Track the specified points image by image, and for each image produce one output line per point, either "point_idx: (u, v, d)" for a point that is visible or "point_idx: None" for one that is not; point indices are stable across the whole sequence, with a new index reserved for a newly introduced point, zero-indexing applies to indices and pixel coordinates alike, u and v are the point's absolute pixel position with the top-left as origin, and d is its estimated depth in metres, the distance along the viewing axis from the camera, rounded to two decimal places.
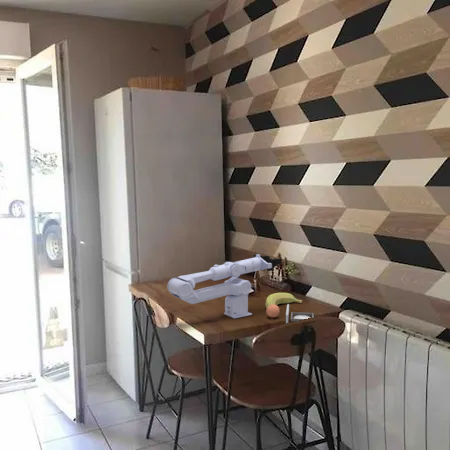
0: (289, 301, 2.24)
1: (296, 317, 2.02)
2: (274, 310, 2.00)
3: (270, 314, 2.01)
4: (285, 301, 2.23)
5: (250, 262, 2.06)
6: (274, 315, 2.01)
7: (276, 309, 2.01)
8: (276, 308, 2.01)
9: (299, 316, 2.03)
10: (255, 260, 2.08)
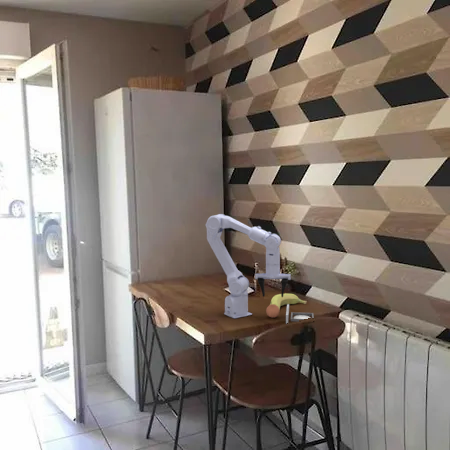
0: (293, 302, 2.22)
1: (296, 317, 2.02)
2: (274, 310, 2.00)
3: (270, 314, 2.01)
4: (289, 302, 2.21)
5: (276, 262, 1.98)
6: (274, 315, 2.01)
7: (276, 309, 2.01)
8: (276, 308, 2.01)
9: (299, 316, 2.03)
10: (268, 269, 1.99)
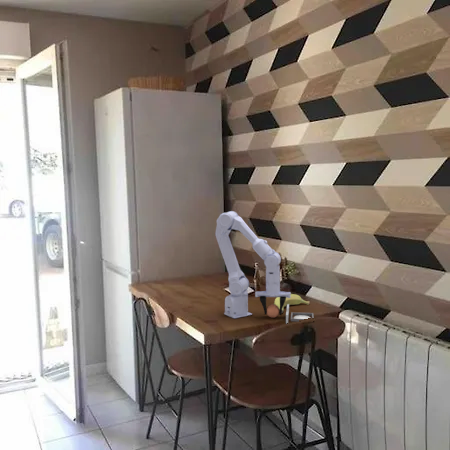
0: (297, 302, 2.21)
1: (296, 317, 2.02)
2: (274, 310, 2.00)
3: (270, 314, 2.01)
4: (293, 302, 2.20)
5: (276, 281, 1.99)
6: (274, 315, 2.01)
7: (276, 309, 2.01)
8: (276, 308, 2.01)
9: (299, 316, 2.03)
10: (268, 287, 2.00)
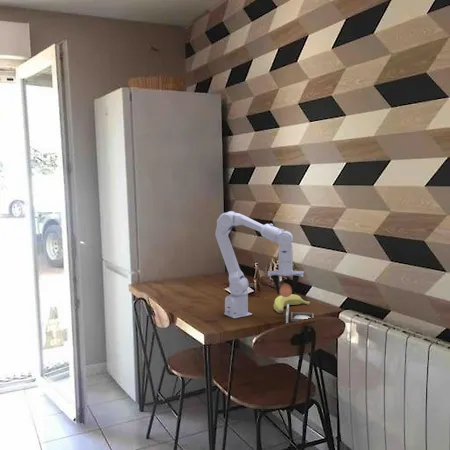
0: (297, 303, 2.21)
1: (296, 317, 2.02)
2: (286, 289, 1.99)
3: (283, 293, 1.99)
4: (293, 303, 2.20)
5: (289, 259, 1.97)
6: (287, 294, 1.99)
7: (289, 288, 1.99)
8: (289, 287, 1.99)
9: (299, 316, 2.03)
10: (280, 266, 1.98)
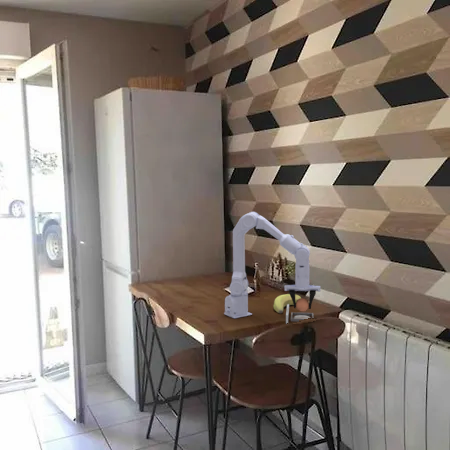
0: None
1: (296, 317, 2.02)
2: (303, 304, 1.98)
3: (300, 308, 1.99)
4: None
5: (306, 274, 1.97)
6: (304, 309, 1.99)
7: (306, 302, 1.99)
8: (306, 302, 1.99)
9: (299, 316, 2.03)
10: (297, 281, 1.98)
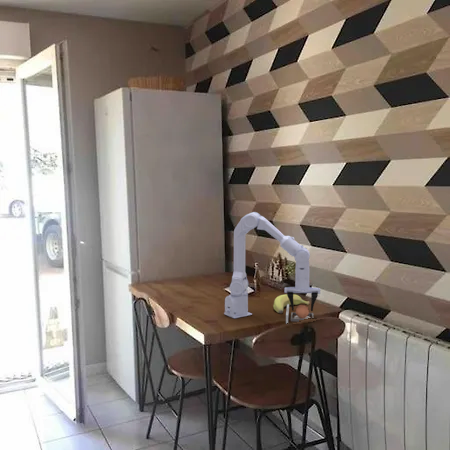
0: (297, 303, 2.21)
1: (296, 317, 2.02)
2: (303, 310, 1.99)
3: (300, 314, 1.99)
4: (293, 303, 2.20)
5: (306, 276, 1.97)
6: (304, 315, 1.99)
7: (306, 309, 1.99)
8: (306, 308, 1.99)
9: None
10: (297, 283, 1.98)
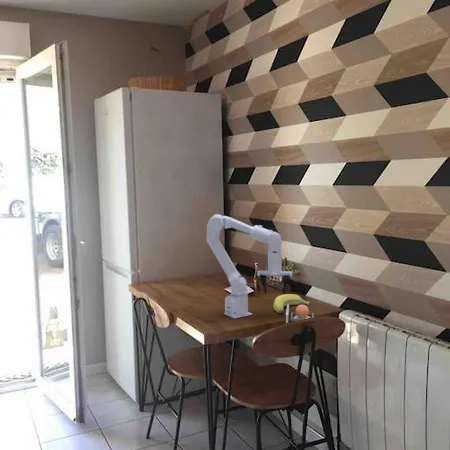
0: (297, 303, 2.21)
1: (296, 317, 2.02)
2: (303, 310, 1.99)
3: (300, 314, 1.99)
4: (293, 303, 2.20)
5: (279, 259, 2.02)
6: (304, 315, 1.99)
7: (306, 309, 1.99)
8: (306, 308, 1.99)
9: None
10: (269, 266, 2.03)
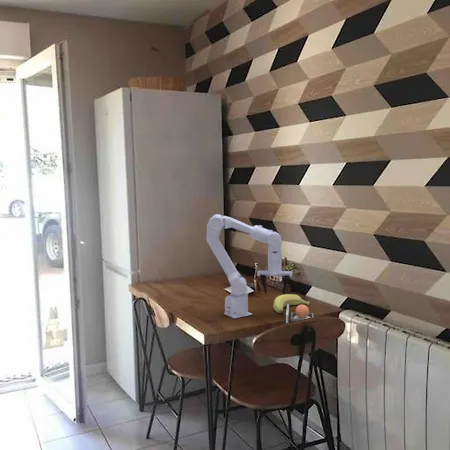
0: (297, 303, 2.21)
1: (296, 317, 2.02)
2: (303, 310, 1.99)
3: (300, 314, 1.99)
4: (293, 303, 2.20)
5: (279, 259, 2.02)
6: (304, 315, 1.99)
7: (306, 309, 1.99)
8: (306, 308, 1.99)
9: None
10: (269, 266, 2.03)
